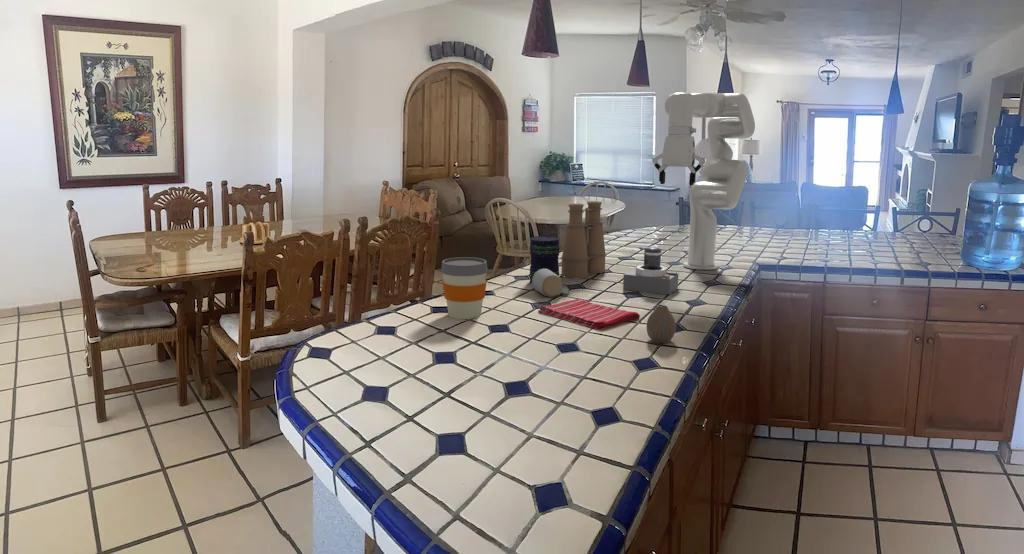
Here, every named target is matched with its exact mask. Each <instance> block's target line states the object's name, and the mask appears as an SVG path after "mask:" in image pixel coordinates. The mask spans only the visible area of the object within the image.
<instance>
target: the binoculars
mask: <svg viewBox="0 0 1024 554" xmlns="http://www.w3.org/2000/svg"><path fill="white" fill-rule="evenodd" d="M586 204H587V207H585V208H584V206H585V204H584V203H569V204H568V207H569V209H568V210H567V212H568V213H569V215H568V216H569V218H568V219H569V221H568V223H566V225H565V227H566V230H565V236H564V240H563V241H564V243H563V249H562V255H561V257H560V260H561V275H562V276H565V277H570V278H569V279H574V278H578V279H585V278H584V277H586V278H588V275H589V274H588V273H593V274H592V275H597V274H596V273H600V274H604V273H606V257H607V255H608V253H606V247H605V235H604V227H603V225H604V222H603V220H601V211H602V210H603V208H602V207H601V205H602V204H603V201H595V200H593V201H591V200H589V201H587V202H586ZM584 212H585V213H584ZM583 213H584V214H585V215H584V223H583ZM603 272H604V273H603ZM561 275H560V276H561ZM562 276H561V277H562ZM565 277H564V278H565Z"/></svg>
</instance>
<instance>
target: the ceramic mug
mask: <svg viewBox="0 0 1024 554" xmlns="http://www.w3.org/2000/svg"><path fill="white" fill-rule="evenodd" d="M531 285H532V287H533V288H534V290H535V291H537V292H538V293H540V294H542V295H543V296H545V297H547V296H548V298H553V297H556V296H558V295H559V294H560V293H562V294H565V295H568V293H569V291H570V289H569V288H567V287H566V286H563V285H564V283H563V281H562V279H561V277H560V275H559V276H558V275H556V274H555V273H553V272H552V271H550V270H549V269H540V270H538V271H537V272H536V273H535V274H534V276H533V279H532V284H531Z"/></svg>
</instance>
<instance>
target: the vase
mask: <svg viewBox="0 0 1024 554" xmlns="http://www.w3.org/2000/svg"><path fill="white" fill-rule="evenodd" d="M676 327H677V324H676V320H675V317H674V315H673V314H672V313H671V311H670V309H669V307H668V306H667V305H666V304H658V305H656V307H655V309H654V310H653V311H652V312H651V314H650V315H649V316H648V318H647V321H646V332H647V336H648V337H649V339H650V340H651V341H652V342H653V343H658V344H666V343H667V344H668V343H669V342H670V341H671V340H672V339H673V338H674V337H675V334H676V329H677V328H676Z"/></svg>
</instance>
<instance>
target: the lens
mask: <svg viewBox="0 0 1024 554" xmlns="http://www.w3.org/2000/svg"><path fill="white" fill-rule="evenodd" d="M661 257H662V248H659V247H656V246H655V247H653V246H651V247H650V246H649V247H645V248H644V250H643V265H644V269H648V270H660V266H661V260H662V259H661Z"/></svg>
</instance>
